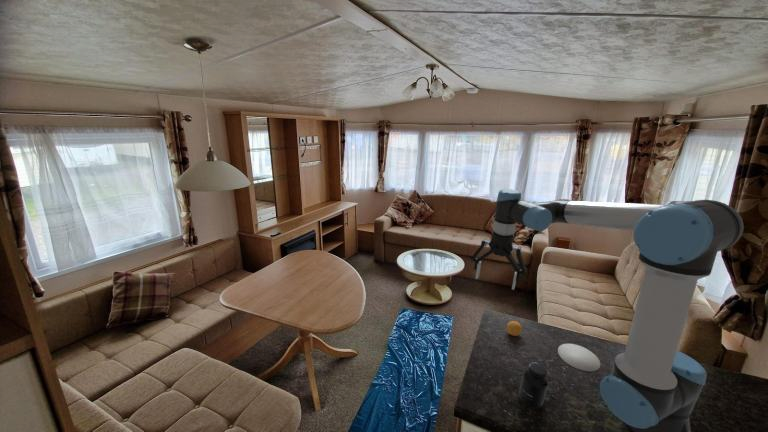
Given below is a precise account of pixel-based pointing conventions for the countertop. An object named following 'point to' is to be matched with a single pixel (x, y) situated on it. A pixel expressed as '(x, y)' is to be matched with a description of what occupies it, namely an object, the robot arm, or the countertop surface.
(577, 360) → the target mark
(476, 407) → the countertop surface
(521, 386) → the supplement bottle
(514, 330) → the ball
